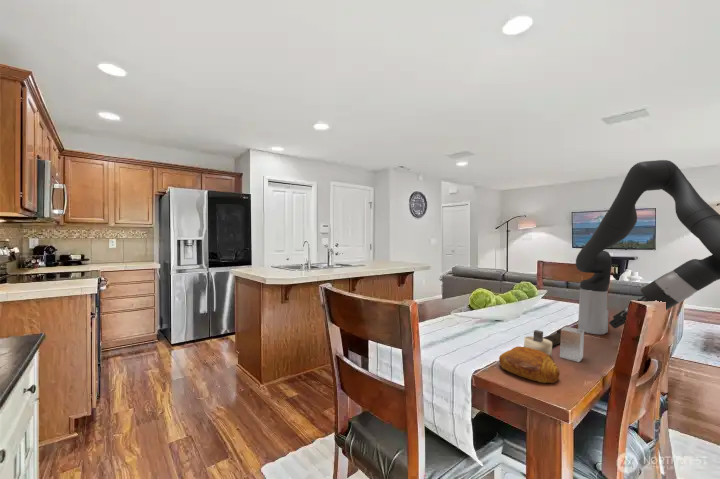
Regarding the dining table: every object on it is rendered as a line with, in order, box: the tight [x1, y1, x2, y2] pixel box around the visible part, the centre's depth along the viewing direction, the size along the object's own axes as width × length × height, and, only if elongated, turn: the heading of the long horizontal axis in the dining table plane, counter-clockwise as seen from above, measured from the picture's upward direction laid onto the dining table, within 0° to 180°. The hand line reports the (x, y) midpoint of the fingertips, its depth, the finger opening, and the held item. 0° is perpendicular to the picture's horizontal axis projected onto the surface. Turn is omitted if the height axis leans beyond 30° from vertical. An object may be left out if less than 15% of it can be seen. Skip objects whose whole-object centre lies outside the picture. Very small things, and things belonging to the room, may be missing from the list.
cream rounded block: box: [523, 329, 553, 359], centre depth 107 cm, size 8×8×8 cm
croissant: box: [498, 345, 561, 384], centre depth 94 cm, size 14×16×8 cm
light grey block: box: [559, 326, 585, 363], centre depth 106 cm, size 5×5×9 cm
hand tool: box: [543, 328, 562, 347], centre depth 118 cm, size 19×4×5 cm, turn 123°
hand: (613, 322), depth 99 cm, fingers open, 8 cm apart
